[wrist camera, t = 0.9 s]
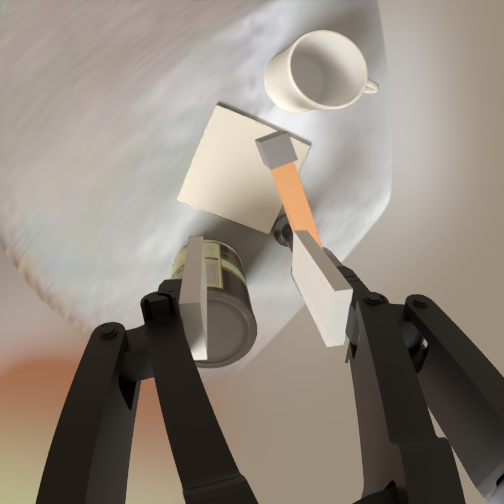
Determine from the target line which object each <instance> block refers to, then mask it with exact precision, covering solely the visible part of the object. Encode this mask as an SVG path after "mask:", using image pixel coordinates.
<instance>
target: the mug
mask: <svg viewBox="0 0 504 504" xmlns="http://www.w3.org/2000/svg"><path fill="white" fill-rule="evenodd" d="M264 85H265V89H266V92H267V94H268V95H269V97H270V98H271V100H272V101H273V102H274V103H275V104H276V105H278V106H279V107H281V108H282V109H284V110H287V111H290V112H295V113H303V112H308V111H311V110H328V109H340V108H344V107H347V106H349V105H351V104H353V103H354V102H355V101H356V100H358V99H359V97H360V96H361V95H362V93H377V92H378V91H379V85H378V84H377V83H376V82H374V81H372V80H370V79H368V68H367V64H366V60H365V58H364V56H363V54H362V52H361V51H360V49H359V48H358V47H357V45H356V44H355V43H354V42H353V41H351V40H350V39H349V38H347V37H346V36H344V35H342V34H340V33H337V32H334V31H330V30H316V31H312V32H309V33H306V34H305V35H303V36H301V37H300V38H299V39H297V40H296V41H295V42H294V43H293V44H292V45H290V46H289V47H288V48H287V49H286V50H285V51H283V52H282V53H280V54H278V55H276V56H275V57H274V58H273V59H272V60H271V61H270V62H269V64H268V65H267V67H266V70H265V74H264ZM366 86H368V87H366Z"/></svg>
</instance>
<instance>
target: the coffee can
mask: <svg viewBox="0 0 504 504" xmlns="http://www.w3.org/2000/svg"><path fill="white" fill-rule="evenodd" d="M203 241H204V253H205V265H206V276H207V360H194V361H195V364H196V367H199V368H219V367H224V366H227V365H230V364H232V363H234V362H236V361H238V360H240V359H241V358H242V357H244V356H245V355H246V354H247V353H248V352H249V351H250V349H251V348H252V346H253V344H254V342H255V339H256V336H257V324H256V320H255V316H254V314H253V311H252V307H251V302H250V297H249V293H248V289H247V284H246V279H245V275H244V267H243V263H242V261H241V258H240V257H239V255H238V254H237V252H236V251H235V250H234V249H233V248H231V247H230V246H228V245H227V244H225V243H223V242H220V241H217V240H203ZM187 246H188V245H187ZM187 246H186V247H184V248H183V249H182V250H181V251H180V252H179V253H178V255H177V256H176V258H175V260H174V263H173V267H172V274H171V278H170V279H182V278H183V271H184V265H185V259H186V252H187Z"/></svg>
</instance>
